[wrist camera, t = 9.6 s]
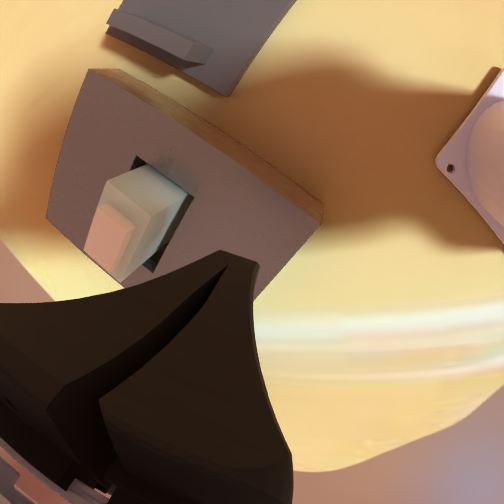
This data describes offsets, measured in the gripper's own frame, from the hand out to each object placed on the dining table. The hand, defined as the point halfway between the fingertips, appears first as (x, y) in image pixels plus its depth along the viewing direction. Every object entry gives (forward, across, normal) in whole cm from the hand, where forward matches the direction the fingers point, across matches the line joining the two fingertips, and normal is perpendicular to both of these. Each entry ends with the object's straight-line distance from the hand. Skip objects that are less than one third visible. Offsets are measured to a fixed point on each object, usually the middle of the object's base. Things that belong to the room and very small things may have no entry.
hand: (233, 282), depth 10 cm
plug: (+9, +7, +2) cm, 12 cm away
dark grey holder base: (+9, +8, -11) cm, 17 cm away
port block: (+9, +7, +3) cm, 12 cm away
